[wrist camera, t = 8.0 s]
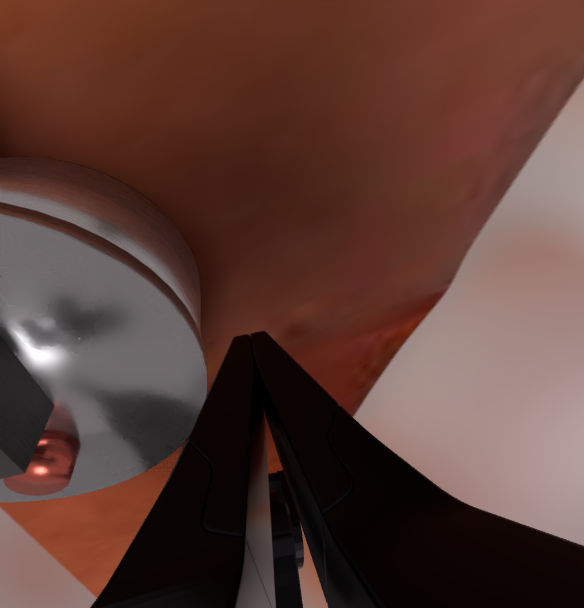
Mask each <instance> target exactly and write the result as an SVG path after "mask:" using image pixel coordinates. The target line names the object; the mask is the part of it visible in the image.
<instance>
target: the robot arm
mask: <svg viewBox="0 0 584 608" xmlns="http://www.w3.org/2000/svg"><path fill="white" fill-rule="evenodd" d="M250 339H251V340H250ZM262 402H263V403H262ZM263 407H264V408H263ZM264 411H265V415H266V419H267V422H268V425H269V428H270V431H271V434H272V437H273V440H274V443H275V447H276V450H277V453H278V456H279V459H280V462H281V465H282V468H283V470H282V471H277V473H271V474H268V463H267V446H266V429H265V415H264ZM186 440H187V442H186V443H185V445H184V447H183V450H182V452H181V454H180V456H179V458H178V460H177V462H176V464H175V467H174V469H173V471H172V473H171V475H170V477H169V479H168V481H167V483H166V484H165V486H164V488H163V490H162V491H161V493H160V495H159V497H158V499H157V500H156V502H155V504H154V506H153V507H152V509H151V511H150V512H149V514H148V516H147V518H146V519H145V521H144V523H143V524H142V526H141V528H140V529H139V531H138V533H137V535H136V536H135V538H134V540H133V541H132V543H131V545H130V546H129V548H128V550H127V551H126V553H125V555H124V557H123V558H122V560H121V562H120V563H119V565H118V567H117V568H116V570H115V572H114V573H113V575H112V577H111V578H110V580H109V582H108V583H107V585H106V586H105V588H104V589H103V591H102V592H101V594H100V595H99V597H98V598H97V599H96V601H95V602H94V603H93V605H92V606H91V607H90V608H303V604H302V597H301V589H300V581H299V574H298V569H300V568H302V567H303V563H304V547H303V538H302V530H301V526H302V528H303V532H304V535H305V538H306V541H307V544H308V547H309V550H310V553H311V556H312V559H313V562H314V565H315V568H316V571H317V574H318V577H319V581H320V583H321V586H322V590H323V593H324V596H325V598H326V602H327V603H328V608H584V546H583V545H580V544H577V543H574V542H571V541H569V540H566V539H563V538H560V537H557V536H554V535H552V534H549V533H546V532H543V531H540V530H537V529H535V528H532V527H529V526H526V525H523V524H520V523H518V522H515V521H512V520H509V519H506V518H503V517H501V516H498V515H495V514H492V513H489V512H486V511H484V510H481V509H478V508H475V507H473V506H470V505H468V504H466V503H464V502H462V501H460V500H458V499H457V498H455V497H453V496H451V495H450V494H448V493H447V492H445V491H444V490H442V489H441V488H439V487H438V486H437V485H436V484H434V483H433V482H432V481H430V480H429V479H428V478H426V477H425V476H424V475H423V474H421V473H420V472H419V471H417V470H416V469H415V468H414V467H412V466H411V465H410V464H408V463H407V462H406V461H404V460H403V459H402V458H401V457H399V456H398V455H397V454H395V453H394V452H393V451H392V450H390V449H389V448H388V447H387V446H385V445H384V444H383V443H382V442H380V441H379V440H378V439H377V438H375V437H374V436H373V435H372V434H371V433H369V432H368V431H367V430H366V429H365V428H364V427H363V426H361V425H360V424H359V423H358V422H357V421H356V420H355V419H354V418H353V417H352V416H351V415H350V414H349V413H348V412H347V411H346V410H345V409H344V408H343V407H342V406H339V404H338V403H337V402H336V401H335V400H334V399H333V398H332V397H331V396H330V395H329V394H328V393H327V392H326V391H325V390H324V389H323V388H322V387H321V386H320V385H319V384H318V383H317V382H316V381H315V380H314V379H313V378H312V377H311V376H310V375H309V374H308V373H307V372H306V371H305V370H304V369H303V368H302V367H301V366H300V365H299V364H298V363H297V362H296V361H295V360H294V359H293V358H292V357H291V356H290V355H289V354H288V353H287V352H286V351H285V350H284V349H283V348H282V347H281V346H280V345H279V344H278V343H277V342H276V341H275V340H274V339H273V338H272V337H271V336H270V335H269V334H268V333H266V332H265V331H261V332H256V333H252V334H250V336H249V335H248V334H246V335H241V336H236V337H234V338H233V340H232V342H231V344H230V346H229V349H228V351H227V353H226V355H225V357H224V360H223V362H222V364H221V366H220V368H219V371H218V373H217V375H216V377H215V379H214V382H213V384H212V386H211V388H210V390H209V393H208V395H207V397H206V399H205V401H204V404H203V406H202V408H201V410H200V412H199V415H198V417H197V419H196V421H195V423H194V426H193V428H192V430H191V432H190V435H189V436H188V437H187V439H186ZM300 523H301V525H300Z"/></svg>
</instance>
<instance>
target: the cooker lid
mask: <svg viewBox="0 0 584 608" xmlns="http://www.w3.org/2000/svg"><path fill="white" fill-rule="evenodd" d="M206 393H207V364H206V352H205V348H204V343H203V339H202V337H201V334H200V332H199V329H198V327H197V324H196V322H195V320H194V319H193V317H192V315H191V314H190V312H189V310H188V309H187V307H186V306H185V304H184V303H183V302H182V301H181V299H180V298H179V297H178V296H177V294H176V293H175V292H174V291H173V290H172V288H171V287H170V286H169V285H168V284H167V283H166V282H164V281H163V280H162V279H161V278H160V277H159V276H158V275H157V274H156V273H155V272H154V271H153V270H152V269H150V268H149V267H148V266H146V265H145V264H144V263H142V262H141V261H140V260H138V259H137V258H135V257H134V256H133V255H131V254H130V253H129V252H127V251H125V250H123V249H122V248H120V247H118V246H117V245H115V244H113V243H112V242H110V241H108V240H107V239H105V238H103V237H101V236H99V235H97V234H95V233H92V232H90V231H88V230H86V229H84V228H82V227H79V226H77V225H75V224H73V223H71V222H68V221H65V220H62V219H59V218H56V217H53V216H50V215H48V214H45V213H42V212H39V211H36V210H32V209H28V208H24V207H19V206H15V205H11V204H7V203H3V202H0V502H27V501H39V500H49V499H56V498H63V497H70V496H74V495H79V494H84V493H88V492H92V491H96V490H99V489H103V488H106V487H110V486H112V485H115V484H118V483H120V482H123V481H126V480H128V479H130V478H133V477H135V476H137V475H139V474H141V473H143V472H145V471H147V470H148V469H150V468H152V467H153V466H155V465H157V464H158V463H160V462H161V461H163V460H164V459H165V458H167V457H168V456H169V455H171V454H172V453H173V452H174V451H175V450H176V449H177V448H178V447H179V446H180V445H181V444H182V443H183V442H184V441H185V440H186V439H187V437H188V436H189V435H190V432H191V430H192V428H193V426H194V423H195V421H196V419H197V417H198V415H199V412H200V410H201V408H202V406H203V404H204V401H205V399H206Z"/></svg>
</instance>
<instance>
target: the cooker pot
mask: <svg viewBox="0 0 584 608" xmlns="http://www.w3.org/2000/svg"><path fill="white" fill-rule="evenodd" d="M0 202H3V203H7V204H11V205H15V206H19V207H24V208H28V209H32V210H36V211H39V212H42V213H45V214H48V215H50V216H53V217H56V218H59V219H62V220H65V221H68V222H71V223H73V224H75V225H77V226H79V227H82V228H84V229H86V230H88V231H90V232H92V233H95V234H97V235H99V236H101V237H103V238H105V239H107V240H108V241H110V242H112V243H113V244H115V245H117V246H118V247H120V248H122V249H123V250H125V251H127V252H129V253H130V254H131V255H133V256H134V257H135V258H137V259H138V260H140V261H141V262H142V263H144V264H145V265H146V266H148V267H149V268H150V269H152V270H153V271H154V272H155V273H156V274H157V275H158V276H159V277H160V278H161V279H162V280H163V281H164V282H166V283H167V284H168V285H169V286H170V287H171V288H172V290H173V291H174V292H175V293H176V294H177V296H178V297H179V298H180V299H181V301H182V302H183V303H184V304H185V306H186V307H187V309H188V310H189V312H190V314H191V315H192V317H193V319H194V320H195V322H196V324H197V327H198V329H199V332H200V334H201V290H200V278H199V272H198V268H197V265H196V262H195V259H194V256H193V254H192V252H191V250H190V248H189V246H188V244H187V242H186V240H185V239H184V237H183V236H182V234H181V233H180V232H179V230H178V229H177V227H176V226H175V225H174V224H173V223H172V222H171V220H170V219H169V218H168V217H167V216H166V215H165V214H164V213H163V212H162V211H161V210H160V209H159V208H158V207H156V206H155V205H154V204H153V203H152V202H151V201H150V200H148V199H147V198H145V197H144V196H143V195H141V194H140V193H138V192H137V191H135V190H134V189H133V188H131V187H129V186H127V185H125V184H124V183H122V182H120V181H118V180H116V179H115V178H112V177H110V176H108V175H105V174H103V173H101V172H98V171H96V170H94V169H90V168H87V167H84V166H81V165H77V164H74V163H70V162H65V161H60V160H54V159H49V158H36V157H9V158H0Z"/></svg>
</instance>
